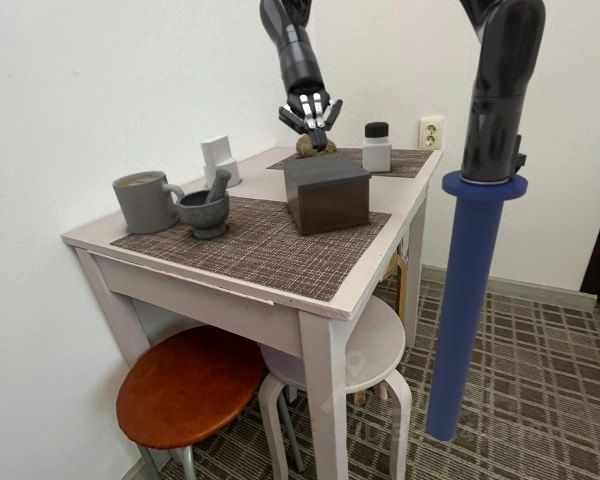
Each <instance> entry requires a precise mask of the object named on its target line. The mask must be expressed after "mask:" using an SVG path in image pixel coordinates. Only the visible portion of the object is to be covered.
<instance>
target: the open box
mask: <svg viewBox="0 0 600 480" xmlns="http://www.w3.org/2000/svg"><path fill="white" fill-rule="evenodd" d="M282 170H283V179H284V186H285V187H284V188H285V194H286V203H287V207H288V209H289V211H290V213H291V215H292V216H293V219H294V221H295V223H296V225H297V227H298V230H299V231H300V234H301V235H302V236H305V235H311V234H318V233H322V232H328V231H329V232H330V231H334V230H339V229H345V228H351V227H357V226H361V225H362V226H363V225H369V224H370V179H365V180H359V181H352V182H346V183H340V184H333V185H327V186H321V187H315V188H308V189H302V190H298V188H297V187H296V185H295V184H294V182H293V180H292V179H291V177H290V176H289V174H288V172H287V171H286V169H285V168H284V166H283V165H282Z"/></svg>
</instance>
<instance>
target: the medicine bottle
mask: <svg viewBox="0 0 600 480" xmlns="http://www.w3.org/2000/svg"><path fill="white" fill-rule="evenodd" d="M389 132H390V125H389V123H388V122H386V121H370V122H368V123H366V124H365V125H364V139H363V140H362V168H364V169H365V170H367V171H368V172H370V173H387V172H388V173H390V172H391V171H392V143H391V140H390V138H389V136H390V135H389V134H390V133H389Z"/></svg>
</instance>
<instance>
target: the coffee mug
mask: <svg viewBox="0 0 600 480" xmlns="http://www.w3.org/2000/svg"><path fill="white" fill-rule="evenodd" d="M111 186H112V188H113V192H114V194H115V196H116V200H117V201H118V204H119V207H120V210H121V213H122V214H123V217H124V221H125V223H126V225H127V229H128V230H129V232H130V233H132V234H135V235H145V234H146V235H147V234H153V233H156V232H160V231H162V230H166V229H168V228H170V227H172V226H173V225H175V224H176V223H177V222H178V220H179V214H178V212H177V209H176V206H175V204H176V202H174V198H173V196H172V193H174V194H175V195H176V198H177V199H178V198H180V197H182V196H184V195H186V194H185V192H184V190H183V189H182V187H180V186H179V185H177V184H172V183H169V182H168V178H167V175H166V172H165V171H163V170H147V171H145V170H144V171H139V172H135V173H130V174H127V175H124V176H121V177H119V178H117V179H115V180H113V181H112V183H111Z"/></svg>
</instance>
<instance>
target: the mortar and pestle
mask: <svg viewBox="0 0 600 480" xmlns="http://www.w3.org/2000/svg"><path fill="white" fill-rule="evenodd" d="M230 179H231V173H230V172H229V171H227V170H225V169H217V170H216V177H215V180H214V182H213V185H212V187H211V188H208V189H207V188H205V189H201V190H196V191H192V192H188V193H187V194H185V195H184V196H182V197H180V198H177V199H176V201H175V206H176V209H177V212H178V214H177V215H178V217H179V218H180V219H181V221H182V222H183V223H184V224H186V225H187V226H189V227H191V228H193V234H194V236H195V237H197V238H199V239H211V238H215V237H218V236H221V235H222V234H223V233H225V232H226V231H227V225H226V221H227V219H228V217H229V215H230V212H231V211H230V208H231V207H230V204H231V203H230V202H231V201H230V195H229V191H228V190H227V188H228V187H227V184H228V180H230Z"/></svg>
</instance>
